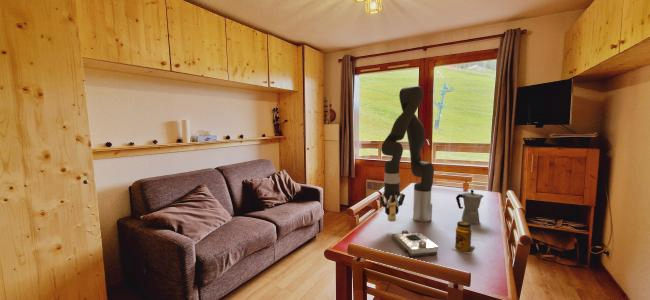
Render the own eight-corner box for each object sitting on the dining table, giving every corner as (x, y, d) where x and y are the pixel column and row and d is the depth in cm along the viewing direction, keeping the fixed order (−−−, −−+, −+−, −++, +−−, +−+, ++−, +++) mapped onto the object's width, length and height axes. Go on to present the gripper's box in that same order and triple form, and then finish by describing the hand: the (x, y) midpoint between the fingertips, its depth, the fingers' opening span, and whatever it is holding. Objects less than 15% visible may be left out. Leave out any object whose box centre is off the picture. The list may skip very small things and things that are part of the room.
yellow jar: (452, 249, 120) (453, 223, 119) (457, 242, 127) (458, 217, 125) (470, 254, 116) (471, 227, 114) (474, 247, 122) (476, 221, 121)
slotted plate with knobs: (414, 235, 134) (414, 225, 134) (437, 255, 115) (438, 243, 114) (391, 237, 132) (391, 226, 132) (411, 258, 113) (411, 245, 112)
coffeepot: (477, 217, 158) (478, 187, 156) (487, 224, 148) (489, 191, 146) (450, 218, 157) (452, 187, 155) (459, 224, 148) (461, 192, 146)
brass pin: (394, 217, 143) (394, 199, 142) (398, 221, 138) (398, 202, 137) (384, 218, 142) (384, 200, 141) (389, 222, 137) (389, 203, 136)
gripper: (401, 178, 142) (401, 210, 144) (375, 180, 140) (375, 212, 142) (408, 182, 135) (408, 215, 137) (381, 184, 132) (381, 218, 135)
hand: (391, 213), depth 140 cm, fingers closed on brass pin, 4 cm apart
